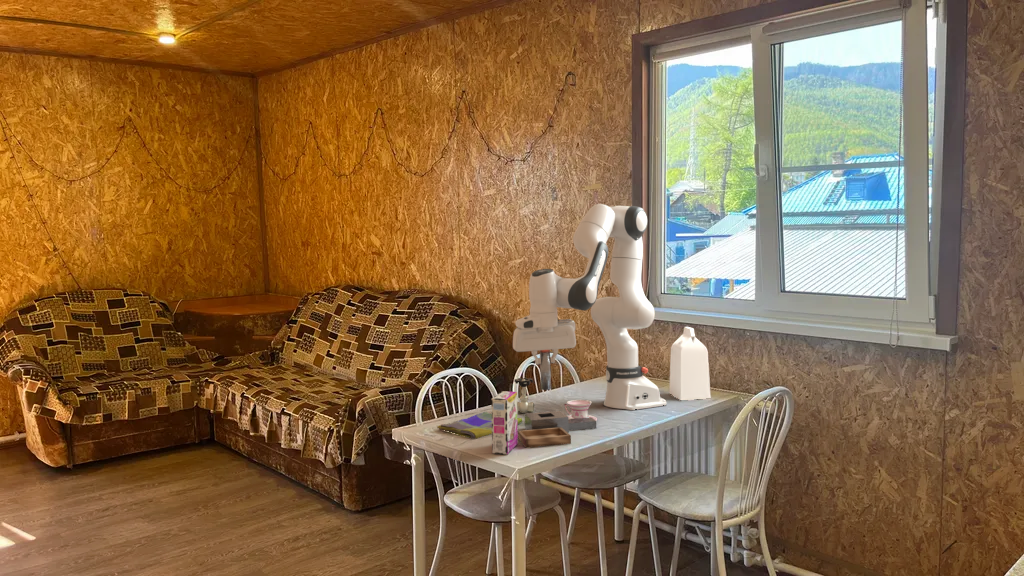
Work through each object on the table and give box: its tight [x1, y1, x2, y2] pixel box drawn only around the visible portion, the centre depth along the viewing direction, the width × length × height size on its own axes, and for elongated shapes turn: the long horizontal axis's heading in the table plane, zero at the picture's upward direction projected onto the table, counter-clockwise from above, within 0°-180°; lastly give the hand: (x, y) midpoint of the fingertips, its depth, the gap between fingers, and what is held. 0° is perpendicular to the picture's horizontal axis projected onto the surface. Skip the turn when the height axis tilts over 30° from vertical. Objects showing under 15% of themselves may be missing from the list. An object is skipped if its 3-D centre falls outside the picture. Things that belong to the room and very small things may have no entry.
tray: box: [518, 427, 572, 448], centre depth 235 cm, size 14×10×2 cm
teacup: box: [563, 399, 598, 422], centre depth 260 cm, size 12×12×6 cm
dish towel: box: [437, 411, 523, 440], centre depth 254 cm, size 18×24×3 cm
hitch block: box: [524, 410, 597, 434], centre depth 249 cm, size 22×9×5 cm, turn 103°
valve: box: [513, 377, 535, 414], centre depth 271 cm, size 7×7×12 cm
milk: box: [668, 326, 712, 401], centre depth 289 cm, size 12×12×26 cm
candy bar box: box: [491, 390, 519, 456], centre depth 228 cm, size 11×5×16 cm, turn 163°
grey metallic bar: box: [539, 350, 552, 391], centre depth 246 cm, size 3×3×14 cm
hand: (545, 363), depth 246 cm, fingers closed on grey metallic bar, 3 cm apart
